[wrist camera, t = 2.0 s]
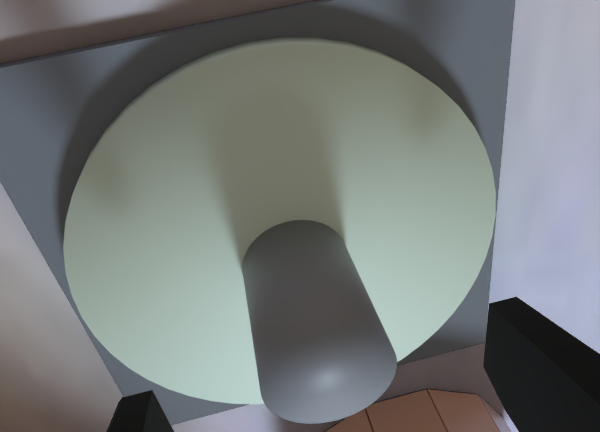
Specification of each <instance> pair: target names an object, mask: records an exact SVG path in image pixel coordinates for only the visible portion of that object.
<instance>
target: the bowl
mask: <svg viewBox="0 0 600 432" xmlns="http://www.w3.org/2000/svg"><path fill="white" fill-rule="evenodd" d="M326 432H511V430H510V429H509V427H508V426H507V424H506V422H505V421H504V419H503V418H502V417H501V416H500V415H499V414H498V413H497V412H496V411H495V410H494V409H493V408H492V407H491V406H490V405H489V404H488V403H486V402H485V401H484V400H483V399H482V398H481V397H480V396H479V395H476V394H467V393H457V392H448V391H439V390H430V389H428V390H427V391H426V390H422V391H418V392H415V393H411V394H407V395H403V396H400V397H396V398H392V399H389V400H385V401H381V402H377V403H374V404H371V405H369V406H368V407H366V408H365V409H363V410H361V411H359V412H357V413H355V414H353V415H351V416H348V417H347V418H345V419H344V420H342V421H341V422H339V423H338V424H336V425H335V426H333V427H332V428H330V429H329V430H327V431H326Z"/></svg>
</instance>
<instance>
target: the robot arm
mask: <svg viewBox="0 0 600 432" xmlns="http://www.w3.org/2000/svg"><path fill="white" fill-rule="evenodd" d="M483 366H484V368H485V371H486V373H487V375H488V377H489V379H490V381H491V383H492V385H493V387H494V389H495V391H496V393H497V395H498V397H499V399H500V401H501V403H502V404H503V406H504V408H505V410H506V412H507V414H508V415H509V417H510V418H511V420H512V421H513V423H514V425H515V426H516V428H517V429H518V431H519V432H600V354H599V353H597V352H596V351H594V350H593V349H591V348H590V347H589V346H587V345H586V344H584V343H583V342H581V341H580V340H578V339H577V338H575V337H574V336H572V335H571V334H569V333H568V332H567V331H565V330H564V329H562V328H561V327H559V326H558V325H556V324H555V323H554V322H552V321H551V320H549V319H548V318H546V317H545V316H543V315H542V314H541V313H539V312H538V311H536V310H535V309H533V308H532V307H530V306H529V305H528V304H526V303H525V302H523V301H522V300H520V299H519V298H517V297H514V298H510V299H506V300H502V301H498V302H494V303H490V304H489V312H488V323H487V333H486V344H485V354H484V365H483ZM107 432H174V431H173V429H172V427H171V425H170V423H169V421H168V419H167V417H166V415H165V413H164V411H163V409H162V407H161V406H160V404H159V402H158V400H157V398H156V396H155V394H154V392H153V390H150V391H146V392H142V393H138V394H134V395H130V396H126V397H122V399H121V400H120V401H119V403H118V405H117V408H116V410H115V413H114V415H113V417H112V420H111V422H110V425H109V427H108V429H107Z"/></svg>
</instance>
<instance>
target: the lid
mask: <svg viewBox="0 0 600 432" xmlns="http://www.w3.org/2000/svg"><path fill="white" fill-rule="evenodd" d="M495 216H496V191H495V184H494V177H493V170H492V167H491V164H490V161H489V158H488V155H487V151H486V148H485V146H484V144H483V142H482V141H481V139H480V137H479V135H478V133H477V131H476V129H475V127H474V126H473V124H472V123H471V122H470V120H469V119H468V118H467V116H466V115H465V114H464V112H463V111H462V110H461V108H460V107H459V106H458V105H457V104H456V103H455V102H454V101H453V100H452V99H451V98H450V97H449V96H448V95H447V94H445V93H444V92H443V91H442V90H441V89H440V88H439V87H438V86H436V85H435V84H433V83H432V82H431V81H429V80H428V79H427V78H425V77H424V76H422V75H421V74H419V73H418V72H416V71H415V70H413V69H412V68H410V67H409V66H407V65H406V64H404V63H403V62H401V61H398V60H396V59H394V58H392V57H390V56H388V55H386V54H383V53H381V52H379V51H377V50H374V49H370V48H367V47H364V46H360V45H357V44H353V43H350V42H346V41H339V40H332V39H325V38H318V37H279V38H272V39H265V40H258V41H251V42H245V43H242V44H238V45H235V46H231V47H228V48H224V49H221V50H217V51H214V52H211V53H209V54H207V55H205V56H202V57H200V58H198V59H195V60H193V61H191V62H189V63H186V64H184V65H182V66H180V67H179V68H177V69H175V70H174V71H172V72H170V73H169V74H167V75H166V76H164V77H162V78H161V79H159V80H157V81H156V82H154V83H153V84H152V85H150V86H149V87H148V88H147V89H145V90H144V91H143V92H142V93H141V94H139V95H138V96H137V97H136V98H135V99H133V100H132V101H131V102H130V103H129V104H128V105H127V106H126V107H125V108H124V109H123V110H122V111H121V112H120V113H119V114H118V116H117V117H116V118H115V119H114V120H113V121H112V122H111V123H110V124H109V126H108V127H107V128H106V129H105V131H104V133H103V134H102V136H101V137H100V139H99V140H98V142H97V143H96V145H95V146H94V148H93V149H92V151H91V152H90V154H89V157H88V159H87V161H86V163H85V166H84V168H83V170H82V172H81V175H80V177H79V179H78V182H77V184H76V187H75V189H74V192H73V194H72V198H71V202H70V205H69V209H68V213H67V217H66V221H65V231H64V244H63V252H64V262H65V273H66V277H67V280H68V284H69V288H70V291H71V295H72V298H73V300H74V302H75V304H76V306H77V308H78V310H79V313H80V315H81V317H82V319H83V320H84V321H85V323H86V324H87V326H88V327H89V329H90V330H91V332H92V333H93V335H94V336H95V337H96V338H97V340H98V341H99V342H100V343H101V344H102V345H103V346H104V347H105V348H106V349H107V350H108V351H109V352H110V353H111V354H112V355H113V356H114V357H115V358H117V359H118V360H119V361H120V362H122V363H123V364H124V365H125V366H127V367H128V368H129V369H131V370H133V371H134V372H136V373H138V374H139V375H141V376H142V377H144V378H146V379H147V380H149V381H152V382H154V383H156V384H158V385H160V386H162V387H165V388H167V389H169V390H172V391H175V392H178V393H181V394H184V395H187V396H191V397H195V398H200V399H204V400H209V401H215V402H223V403H231V404H265V405H266V406H267V408H268V409H269V410H270V411H271V412H272V413H274V414H275V415H277V416H279V417H281V418H283V419H285V420H288V421H292V422H296V423H304V424H317V423H326V422H331V421H336V420H339V419H343V418H346V417H348V416H351V415H353V414H355V413H357V412H359V411H361V410H363V409H365V408H366V407H368V406H369V405H371V404H372V403H373V402H375V401H376V400H377V399H378V398H379V397H380V396H381V395H382V394H383V393H384V392H385V391H386V390H387V388H388V387H389V386H390V384H391V382H392V381H393V379H394V376H395V373H396V369H397V362H398V361H400V360H402V359H403V358H405V357H406V356H407V355H409V354H410V353H411V352H413V351H414V350H415V349H417V348H418V347H419V346H421V345H422V344H423V343H424V342H425V341H426V340H427V339H429V338H430V337H431V336H432V335H433V334H434V333H435V332H436V331H438V329H439V328H440V327H441V326H442V325H443V324H444V323H445V322H446V321H447V320H448V319H449V318H450V316H451V315H452V314H453V313H454V312H455V310H456V309H457V308H458V306H459V305H460V304H461V302H462V301H463V300H464V298H465V297H466V295H467V294H468V292H469V290H470V289H471V287H472V285H473V284H474V282H475V280H476V279H477V276H478V274H479V272H480V270H481V268H482V265H483V263H484V261H485V259H486V256H487V252H488V249H489V246H490V242H491V239H492V234H493V228H494V222H495Z"/></svg>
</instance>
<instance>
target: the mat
mask: <svg viewBox="0 0 600 432" xmlns="http://www.w3.org/2000/svg"><path fill="white" fill-rule="evenodd" d="M514 8H515V0H315V1H311V2H306V3H301V4H296V5H291V6H286V7H281V8H276V9H271V10H266V11H261V12H256V13H251V14H246V15H241V16H236V17H231V18H227V19H222V20H217V21H212V22H207V23H202V24H197V25H192V26H187V27H182V28H177V29H172V30H167V31H162V32H157V33H152V34H147V35H142V36H138V37H133V38H128V39H123V40H118V41H113V42H108V43H103V44H98V45H93V46H88V47H83V48H78V49H73V50H68V51H63V52H58V53H54V54H49V55H44V56H39V57H34V58H29V59H24V60H19V61H14V62H9V63H4V64H0V182H1V184H2V185H3V187H4V189H5V191H6V192H7V194H8V196H9V198H10V199H11V201H12V203H13V205H14V206H15V208H16V210H17V212H18V213H19V215H20V217H21V219H22V220H23V222H24V224H25V225H26V227H27V229H28V231H29V232H30V234H31V236H32V238H33V239H34V241H35V243H36V245H37V246H38V248H39V250H40V252H41V253H42V255H43V257H44V259H45V260H46V262H47V264H48V266H49V267H50V269H51V271H52V273H53V274H54V276H55V278H56V280H57V281H58V283H59V285H60V287H61V288H62V290H63V292H64V294H65V295H66V297H67V299H68V301H69V302H70V304H71V306H72V307H73V309H74V311H75V313H76V314H77V316H78V318H79V320H80V321H81V323H82V325H83V327H84V328H85V330H86V332H87V334H88V335H89V337H90V339H91V341H92V342H93V344H94V346H95V348H96V349H97V351H98V353H99V355H100V356H101V358H102V360H103V362H104V363H105V365H106V367H107V369H108V370H109V372H110V374H111V376H112V377H113V379H114V381H115V383H116V384H117V386H118V388H119V390H120V391H121V393H122V395H123V396H124V397H126V396H130V395H134V394H138V393H142V392H146V391H150V390H153V392H154V394H155V396H156V398H157V400H158V402H159V404H160V406H161V407H162V409H163V411H164V413H165V415H166V417H167V419H168V421H169V423H170V425H173V424H177V423H181V422H185V421H189V420H192V419H196V418H200V417H204V416H208V415H211V414H215V413H219V412H223V411H227V410H230V409H234V408H238V407H242V406H245V405H249V404H231V403H223V402H215V401H209V400H204V399H200V398H195V397H191V396H187V395H184V394H181V393H178V392H175V391H172V390H169V389H167V388H165V387H162V386H160V385H158V384H156V383H154V382H152V381H149V380H147V379H146V378H144V377H142V376H141V375H139V374H138V373H136V372H134V371H133V370H131V369H129V368H128V367H127V366H125V365H124V364H123V363H122V362H120V361H119V360H118V359H117V358H115V357H114V356H113V355H112V354H111V353H110V352H109V351H108V350H107V349H106V348H105V347H104V346H103V345H102V344H101V343H100V342H99V341H98V340H97V338H96V337H95V336H94V335H93V333H92V332H91V330H90V329H89V327H88V326H87V324H86V323H85V321H84V320H83V319H82V317H81V315H80V313H79V310H78V308H77V306H76V304H75V302H74V300H73V298H72V295H71V291H70V288H69V284H68V280H67V277H66V273H65V262H64V252H63V244H64V231H65V221H66V217H67V213H68V209H69V205H70V202H71V198H72V194H73V192H74V189H75V187H76V184H77V182H78V179H79V177H80V175H81V172H82V170H83V168H84V166H85V163H86V161H87V159H88V157H89V154H90V152H91V151H92V149H93V148H94V146H95V145H96V143H97V142H98V140H99V139H100V137H101V136H102V134H103V133H104V131H105V129H106V128H107V127H108V126H109V124H110V123H111V122H112V121H113V120H114V119H115V118H116V117H117V116H118V114H119V113H120V112H121V111H122V110H123V109H124V108H125V107H126V106H127V105H128V104H129V103H130V102H131V101H132V100H133V99H135V98H136V97H137V96H138V95H139V94H141V93H142V92H143V91H144V90H145V89H147V88H148V87H149V86H150V85H152V84H153V83H154V82H156V81H157V80H159V79H161V78H162V77H164V76H166V75H167V74H169V73H170V72H172V71H174V70H175V69H177V68H179V67H180V66H182V65H184V64H186V63H189V62H191V61H193V60H195V59H198V58H200V57H202V56H205V55H207V54H209V53H211V52H214V51H217V50H221V49H224V48H228V47H231V46H235V45H238V44H242V43H245V42H251V41H258V40H265V39H272V38H279V37H318V38H325V39H332V40H339V41H346V42H350V43H353V44H357V45H360V46H364V47H367V48H370V49H374V50H377V51H379V52H381V53H383V54H386V55H388V56H390V57H392V58H394V59H396V60H398V61H401V62H403V63H404V64H406V65H407V66H409V67H410V68H412V69H413V70H415V71H416V72H418V73H419V74H421V75H422V76H424V77H425V78H427V79H428V80H429V81H431V82H432V83H433V84H435V85H436V86H438V87H439V88H440V89H441V90H442V91H443V92H444V93H445V94H447V95H448V96H449V97H450V98H451V99H452V100H453V101H454V102H455V103H456V104H457V105H458V106H459V107H460V108H461V110H462V111H463V112H464V114H465V115H466V116H467V118H468V119H469V120H470V122H471V123H472V124H473V126H474V127H475V129H476V131H477V133H478V135H479V137H480V139H481V141H482V142H483V144H484V146H485V148H486V151H487V155H488V158H489V161H490V164H491V167H492V170H493V177H494V184H495V191H496V211H497V200H498V189H499V177H500V166H501V155H502V144H503V132H504V121H505V110H506V99H507V87H508V76H509V65H510V54H511V42H512V31H513V20H514ZM495 223H496V216H495V222H494V228H493V234H492V239H491V242H490V246H489V249H488V252H487V256H486V259H485V261H484V263H483V265H482V268H481V270H480V272H479V274H478V276H477V279H476V280H475V282H474V284H473V285H472V287H471V289H470V290H469V292H468V294H467V295H466V297H465V298H464V300H463V301H462V302H461V304H460V305H459V306H458V308H457V309H456V310H455V312H454V313H453V314H452V315H451V316H450V318H449V319H448V320H447V321H446V322H445V323H444V324H443V325H442V326H441V327H440V328H439V329H438V331H436V332H435V333H434V334H433V335H432V336H431V337H430V338H429V339H427V340H426V341H425V342H424V343H423V344H422V345H421V346H419V347H418V348H417V349H415V350H414V351H413V352H411V353H410V354H409V355H407V356H406V357H405V358H403V359H402V360H400V361H398V362H397V365H401V364H405V363H408V362H412V361H416V360H420V359H424V358H427V357H431V356H435V355H439V354H443V353H446V352H450V351H454V350H458V349H462V348H465V347H469V346H473V345H477V344H480V343H484V342H485V335H486V324H487V313H488V301H489V290H490V279H491V268H492V256H493V245H494V234H495Z"/></svg>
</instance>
